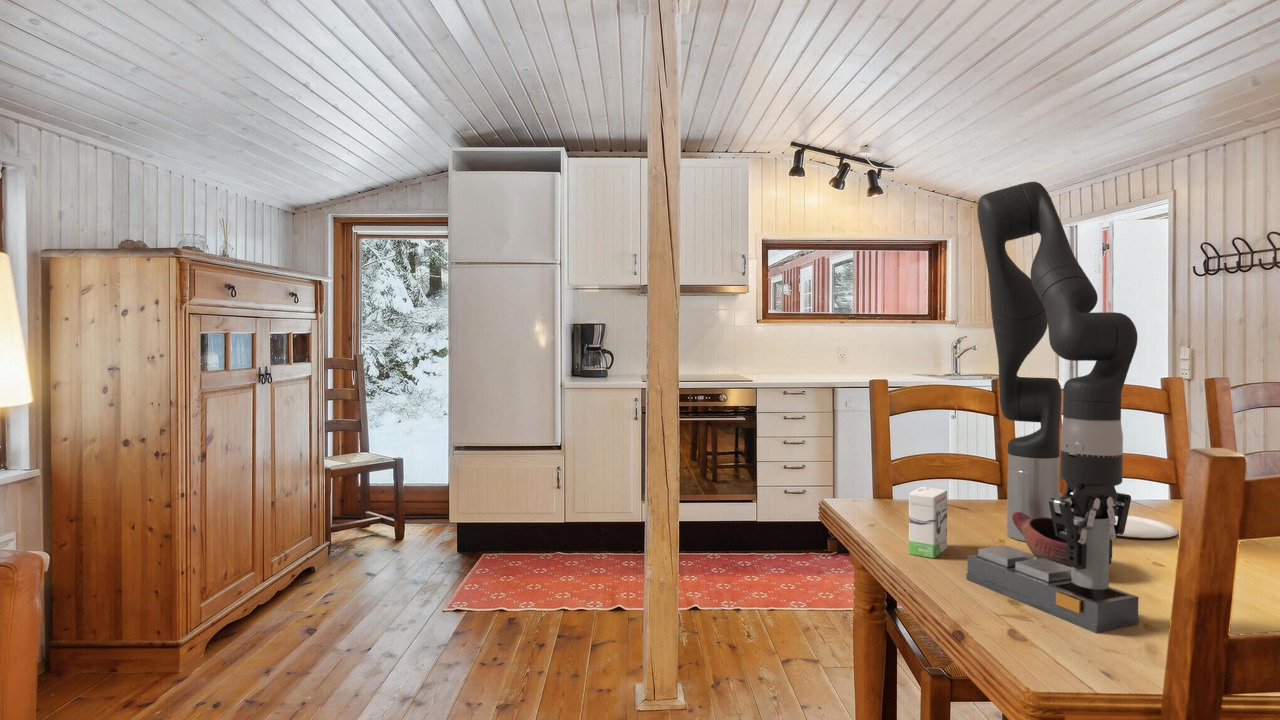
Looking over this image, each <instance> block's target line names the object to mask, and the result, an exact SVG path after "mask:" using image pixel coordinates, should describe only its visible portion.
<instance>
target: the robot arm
mask: <svg viewBox="0 0 1280 720" xmlns="http://www.w3.org/2000/svg"><path fill="white" fill-rule="evenodd" d="M977 221H978V225H979V231H980V236H981V242H982V247H983V252H984V258H985V264H986V269H987V274H988V285H989V297H990V309H991V320H992V326H993V332H994V338H995V345H996V353H997V361H998V382H999V383H998V386H999V389H998V391H999V402H1000V403H999V405H1000V409H1001V413H1002V415H1003V417H1004V418H1005V419H1006V420H1009V421H1013V422H1014V421H1015V422H1025V423H1026V422H1027V423H1028V422H1029V423H1041V425H1040V428H1039V429H1038V430H1036V431H1034V432H1032V433H1029V434H1026V435H1024V436H1019V437H1015V438H1011V439H1010V440H1008V442H1007V489H1006V490H1007V492H1006V493H1007V498H1006V499H1007V501H1006V502H1007V503H1006V504H1007V505H1006V510H1007V511H1006V534H1007V536H1008V537H1010V538H1012V539H1014V540H1019V541H1022V542H1026V541H1025V538H1024V536H1023V534H1022V533H1021V532H1020V531H1019V529H1018V528H1017V527H1016V526H1015V524H1014V523H1013V520H1012V515H1013V513H1015V512H1022V513H1024V514H1025V515H1027V516H1028V517H1030V518H1037V517H1048V518H1052V521H1053V526H1054V531H1055V535H1056V536H1057V537H1061V538H1064V539H1066V540H1067V555H1068V556H1067V560H1068V564H1069V565H1070V566H1071V567H1074V568H1077V569H1085V568H1086V544H1084V543H1085V541H1086V537H1087V533H1088V530H1089V529H1092V527H1093V523H1094V518H1105V517H1107V516H1108V517H1110V534H1109V566H1111V564H1112V559H1113V541H1114V540H1116V538H1117V537H1116V535H1117V534H1120V535H1122V534H1123V533H1124V531H1125V526H1126V521H1127V517H1128V515H1129V512H1130V511H1129V510H1130V506H1131V503H1132V502H1131V501H1132V496H1131V495H1130V494H1127V493H1121V492H1117V490H1116V486H1119V485H1121V484H1122V483H1123V465H1124V463H1123V461H1124V460H1123V457H1124V456H1123V455H1124V452H1123V451H1124V450H1123V449H1124V436H1123V427H1122V420H1121V419H1122V393H1123V392H1122V391H1123V388H1124V385H1125V382H1126V380H1127V375H1128V372H1129V370H1130V366H1131V365H1132V361H1133V359H1134V355H1135V353H1136V349H1137V345H1138V338H1139V337H1138V330H1137V328H1136V325H1135V323H1134V322H1133V320H1132V319H1131V318H1130V317H1129V316H1128V315H1126V314H1124V313H1121V312H1114V311H1113V312H1111V311H1110V312H1108V311H1107V312H1093V310H1094V309H1095V307H1096V305H1097V303H1098V296H1099V295H1098V293H1097V291H1096V288H1095V286H1094V284H1092V282H1091V281H1090V279H1089V277H1088V276H1087V274H1086V272H1085V271H1084V270H1083V268H1082V266H1081V265H1080V263H1079V262H1078V260H1077V259H1076V257H1075V254H1074V252H1073V250H1072V248H1071V247H1072V246H1071V245H1070V242H1069V239H1068V237H1067V234H1066V231H1065V229H1064V227H1063V224H1062V221H1061V219H1060V217H1059V214H1058V212H1057V210H1056V207H1055V204H1054V203H1053V199H1052V197H1051V195H1050V193H1049V192H1048V190H1047V189H1046V188H1045V186H1043V184H1042V183H1040V182H1037V181H1028V182H1024V183H1023V182H1022V183H1019V184H1016V185H1013V186H1009V187H1005V188H1001V189H998V190H994V191H990V192H987V193H985V194H982V196H980V198H979V199H978V202H977ZM1036 234H1039V235H1040V242H1039V246H1038V248H1037V250H1036V251H1037V252H1036V254H1035V256H1034V258H1033V261H1032V263H1031V268H1030V276H1029V275H1027V274H1026V273H1025V272H1024V271H1022V269H1020V267H1018V266H1017V264H1016V263H1015V262H1014V261H1013V260H1012V258H1011V257H1010V256H1009V254H1008V252H1007V250H1006V243H1007V242H1009V241H1012V240H1013V241H1014V240H1017V239H1021V238H1025V237H1028V236H1032V235H1036ZM1047 329H1048V340H1049V344H1050V345H1049V346H1050V348H1051V349H1052V351H1053V352H1054V353H1055V354H1056V355H1057V356H1059V357H1060V358H1062V359H1063V360H1066V361H1075V362H1078V361H1084V362H1086V361H1087V362H1088V361H1090V362H1091V361H1092V362H1094V361H1095V364H1094V366H1093V368H1092V369H1091V371H1090V372H1089V373H1088V374H1086V375H1083V376H1076V377H1073V378H1070V379H1067V380H1066V381H1065V382H1064V384H1063V390H1062V386H1061V384H1060V382H1059V381H1058V379H1056V378H1053V377H1029V376H1028V377H1022V376H1018V372H1019V370H1020V369H1021V366H1023V365H1022V364H1024V361H1025V359H1026V358H1027V357H1028V356H1029V355H1030V353H1032V351H1033V350H1034V349H1035V348H1036V347H1037V346H1038V344H1039V342H1041V340H1042V339H1043V337H1044V336H1045V333H1046V331H1047ZM1062 392H1063V393H1062ZM1062 394H1063V395H1062ZM1062 396H1063V397H1062ZM1062 398H1063V399H1062ZM1062 400H1063V401H1062ZM1061 413H1062V423H1061ZM1060 425H1061V427H1060ZM1060 428H1061V429H1060ZM1060 478H1061V479H1062V480H1063V481H1064V482H1065V483H1066V488H1065V491H1064V494H1062V492H1060ZM1073 514H1074V515H1075V516H1076V517H1081V518H1085V519H1084V521H1078V520H1074V518H1073ZM1115 516H1117V517H1118V521H1117V525H1114V524H1115V523H1116V519H1115ZM1062 524H1063V525H1065V527H1066V529H1065V530H1063V525H1062ZM1076 525H1077V526H1079V532H1078V534H1076V530H1075V526H1076Z"/></svg>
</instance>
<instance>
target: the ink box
mask: <svg viewBox="0 0 1280 720" xmlns="http://www.w3.org/2000/svg"><path fill="white" fill-rule="evenodd" d="M947 547H948V490H947V489H940V488H935V487H928V486H920V487H918V488H917V489H914V490H912V491H910V492H909V494H908V554H909V555H913V556H919V557H925V558H931V559H935V558H937V557H938V556H939V555H940V554H941V553H943V552H944V551H945V550H946V549H947Z"/></svg>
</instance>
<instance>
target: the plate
mask: <svg viewBox="0 0 1280 720" xmlns="http://www.w3.org/2000/svg"><path fill="white" fill-rule="evenodd" d="M1115 519H1116V523H1115V524H1114V525H1117V521H1118V517H1117V516H1115ZM1178 535H1179V531H1178V530H1177V528H1175V527H1173V526H1172V525H1170V524H1167V523H1164V522H1161V521H1158V520H1156V519H1150V518H1145V517H1141V516H1140V517H1139V516H1136V515H1131V514H1130V515H1129V514H1128V517H1127V521H1126V526H1125V531H1124V533H1123V534H1122V535H1120V534H1117V535H1116V538H1121V539H1122V538H1123V539H1132V538H1133V540H1164V539H1170V538H1175V537H1177V536H1178Z"/></svg>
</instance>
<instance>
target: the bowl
mask: <svg viewBox="0 0 1280 720" xmlns="http://www.w3.org/2000/svg"><path fill="white" fill-rule="evenodd" d="M1012 520H1013V523H1014V524H1015V526H1016V527H1017V528H1018V529H1019V531H1020V532H1021V533H1022V534H1023V536H1024V538H1025V541H1024V542H1025V543H1026V545H1027V547H1028V549H1029V550H1030V552H1031V554H1032V555H1034V558H1035V557H1036V559H1039V558H1044V559H1047V560H1050V561H1053V562H1056V563H1059V564H1062V565H1065V566H1068V567H1071V566H1070V565H1069V564H1068V560H1067V556H1068V555H1067V540H1066V539H1064V538H1061V537H1057V536H1056V535H1055V531H1054V526H1053V521H1052V518H1048V517H1037V518H1030V517H1028V516H1027V515H1025V514H1024V513H1022V512H1015V513H1013V515H1012ZM1062 525H1063V524H1062ZM1065 529H1066V527H1065V525H1063V530H1065ZM1071 568H1072V567H1071Z"/></svg>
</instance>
